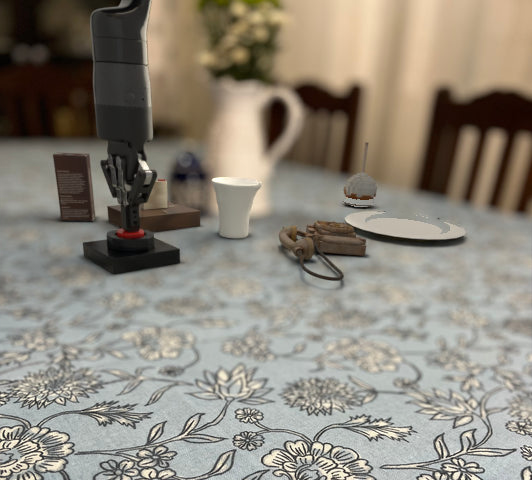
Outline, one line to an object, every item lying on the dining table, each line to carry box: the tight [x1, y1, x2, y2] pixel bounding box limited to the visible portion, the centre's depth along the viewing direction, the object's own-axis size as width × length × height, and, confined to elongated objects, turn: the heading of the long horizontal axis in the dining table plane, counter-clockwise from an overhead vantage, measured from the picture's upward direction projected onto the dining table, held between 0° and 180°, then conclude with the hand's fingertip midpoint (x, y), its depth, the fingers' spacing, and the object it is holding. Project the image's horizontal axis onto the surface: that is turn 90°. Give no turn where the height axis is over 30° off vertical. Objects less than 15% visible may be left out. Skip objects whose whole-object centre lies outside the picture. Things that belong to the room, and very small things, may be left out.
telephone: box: [278, 220, 367, 282], centre depth 87 cm, size 15×33×4 cm, turn 5°
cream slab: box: [140, 178, 168, 210], centre depth 98 cm, size 5×2×5 cm, turn 129°
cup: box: [211, 176, 262, 239], centre depth 95 cm, size 9×9×10 cm
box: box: [52, 152, 96, 222], centre depth 98 cm, size 6×4×12 cm
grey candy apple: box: [342, 141, 378, 207], centre depth 128 cm, size 8×8×15 cm
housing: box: [82, 228, 181, 275], centre depth 79 cm, size 11×10×4 cm
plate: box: [344, 210, 467, 243], centre depth 108 cm, size 25×25×2 cm
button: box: [117, 228, 144, 238], centre depth 78 cm, size 4×4×2 cm
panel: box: [106, 200, 201, 233], centre depth 100 cm, size 14×11×3 cm
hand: (131, 230), depth 78 cm, fingers closed
